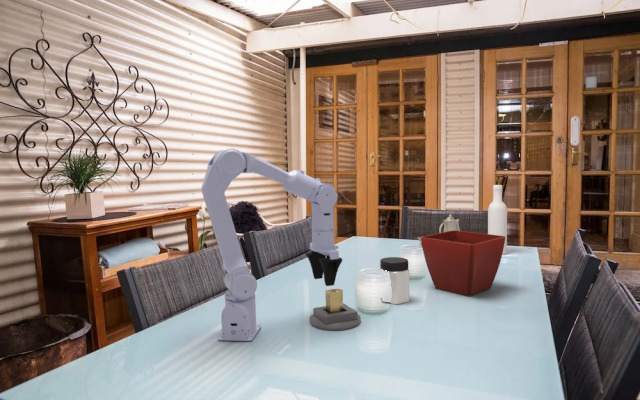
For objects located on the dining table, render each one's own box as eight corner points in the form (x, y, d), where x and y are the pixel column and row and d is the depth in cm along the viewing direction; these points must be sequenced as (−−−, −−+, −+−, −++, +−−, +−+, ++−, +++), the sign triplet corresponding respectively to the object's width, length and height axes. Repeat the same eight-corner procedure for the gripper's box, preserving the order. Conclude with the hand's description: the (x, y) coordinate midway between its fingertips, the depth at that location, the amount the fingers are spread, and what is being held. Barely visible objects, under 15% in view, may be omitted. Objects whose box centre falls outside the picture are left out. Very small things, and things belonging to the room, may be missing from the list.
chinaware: (448, 245, 226) (445, 212, 226) (478, 245, 213) (475, 211, 213) (413, 252, 208) (410, 217, 208) (443, 254, 195) (440, 216, 195)
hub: (322, 334, 105) (321, 321, 104) (302, 317, 117) (302, 306, 116) (369, 325, 110) (369, 313, 110) (346, 310, 122) (346, 299, 122)
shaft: (330, 320, 111) (330, 293, 111) (325, 316, 114) (325, 290, 113) (345, 318, 113) (344, 291, 112) (340, 314, 115) (339, 288, 115)
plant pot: (473, 301, 127) (473, 243, 126) (419, 288, 142) (419, 236, 141) (506, 288, 139) (507, 235, 138) (453, 278, 154) (453, 230, 153)
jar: (375, 301, 129) (374, 261, 128) (385, 294, 136) (384, 256, 135) (404, 306, 124) (404, 264, 123) (413, 298, 131) (413, 258, 131)
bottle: (508, 252, 195) (509, 184, 193) (505, 255, 188) (506, 185, 186) (489, 251, 199) (489, 184, 197) (485, 254, 193) (486, 185, 190)
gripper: (349, 232, 108) (350, 286, 109) (326, 225, 122) (326, 274, 123) (323, 234, 106) (324, 290, 107) (302, 227, 119) (303, 276, 120)
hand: (323, 281), depth 115 cm, fingers open, 7 cm apart
